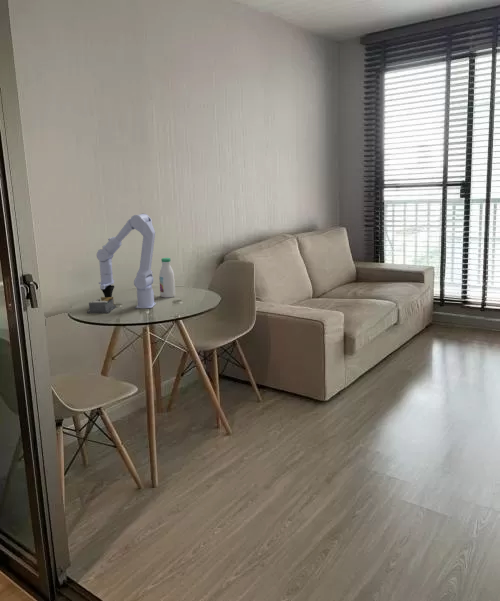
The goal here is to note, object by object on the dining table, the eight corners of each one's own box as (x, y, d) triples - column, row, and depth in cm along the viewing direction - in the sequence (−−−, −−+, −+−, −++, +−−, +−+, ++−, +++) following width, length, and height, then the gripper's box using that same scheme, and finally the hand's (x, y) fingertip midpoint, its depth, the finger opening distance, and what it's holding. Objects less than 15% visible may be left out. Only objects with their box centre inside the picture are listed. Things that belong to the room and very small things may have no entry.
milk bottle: (176, 294, 285) (175, 257, 281) (173, 298, 278) (171, 259, 273) (162, 294, 286) (160, 257, 281) (158, 297, 279) (156, 259, 274)
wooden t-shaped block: (102, 304, 264) (101, 296, 263) (114, 304, 264) (113, 296, 263) (95, 309, 255) (94, 301, 254) (107, 309, 255) (106, 301, 254)
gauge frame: (95, 307, 262) (95, 297, 260) (116, 307, 261) (115, 297, 260) (87, 313, 250) (86, 302, 249) (108, 313, 250) (107, 302, 248)
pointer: (93, 308, 254) (92, 300, 253) (108, 308, 254) (107, 300, 253) (91, 309, 252) (90, 301, 251) (106, 309, 252) (106, 301, 251)
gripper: (103, 270, 269) (105, 297, 272) (93, 276, 255) (95, 304, 258) (117, 270, 268) (119, 297, 272) (107, 276, 254) (109, 304, 258)
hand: (108, 300), depth 265 cm, fingers closed
